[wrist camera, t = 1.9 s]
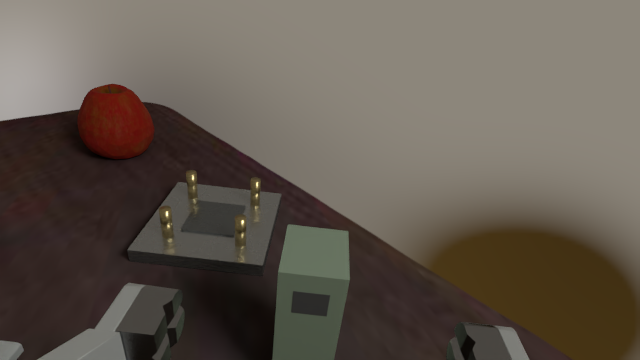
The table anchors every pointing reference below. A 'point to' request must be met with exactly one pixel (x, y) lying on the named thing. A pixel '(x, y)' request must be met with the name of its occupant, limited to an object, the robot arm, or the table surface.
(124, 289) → the robot arm
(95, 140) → the apple
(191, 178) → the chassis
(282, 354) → the block
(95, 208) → the table surface
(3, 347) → the external hard drive
